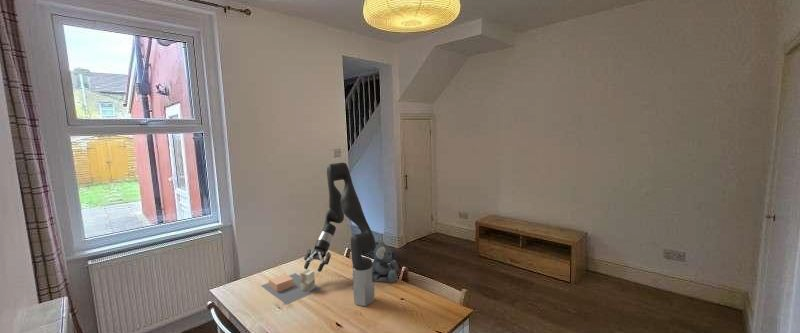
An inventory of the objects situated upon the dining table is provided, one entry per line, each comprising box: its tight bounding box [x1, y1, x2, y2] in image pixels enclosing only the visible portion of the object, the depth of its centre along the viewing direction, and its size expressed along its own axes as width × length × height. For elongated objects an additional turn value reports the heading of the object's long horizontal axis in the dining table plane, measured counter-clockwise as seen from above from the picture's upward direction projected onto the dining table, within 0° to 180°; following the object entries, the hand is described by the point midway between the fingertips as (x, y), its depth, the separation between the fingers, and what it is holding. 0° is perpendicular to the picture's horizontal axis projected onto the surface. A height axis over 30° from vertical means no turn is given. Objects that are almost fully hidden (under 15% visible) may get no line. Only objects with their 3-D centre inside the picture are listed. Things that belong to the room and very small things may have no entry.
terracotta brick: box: [268, 273, 294, 292], centre depth 167 cm, size 9×9×4 cm
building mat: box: [260, 273, 323, 305], centre depth 166 cm, size 28×20×1 cm
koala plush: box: [372, 240, 399, 283], centre depth 177 cm, size 17×18×20 cm
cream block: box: [299, 269, 316, 292], centre depth 163 cm, size 5×5×9 cm
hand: (312, 270), depth 167 cm, fingers open, 8 cm apart
